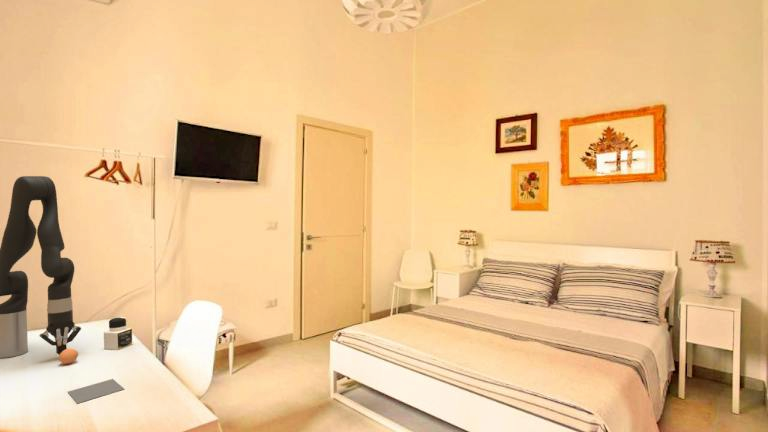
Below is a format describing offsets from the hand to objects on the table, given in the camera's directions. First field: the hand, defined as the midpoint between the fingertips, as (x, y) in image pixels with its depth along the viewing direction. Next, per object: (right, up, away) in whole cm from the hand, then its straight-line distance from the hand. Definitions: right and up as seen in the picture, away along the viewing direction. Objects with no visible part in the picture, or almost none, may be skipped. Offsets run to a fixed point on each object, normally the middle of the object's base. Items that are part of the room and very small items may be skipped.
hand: (61, 354), depth 153 cm
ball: (+7, +1, -5) cm, 9 cm away
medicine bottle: (+13, -2, +13) cm, 19 cm away
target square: (+34, -1, -29) cm, 45 cm away
